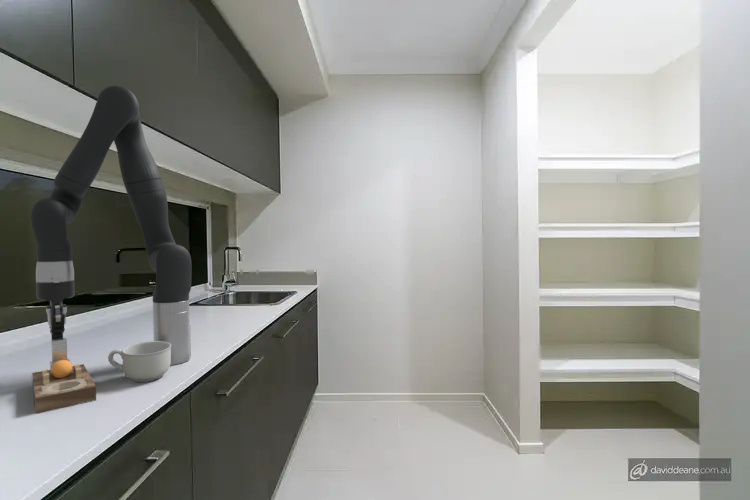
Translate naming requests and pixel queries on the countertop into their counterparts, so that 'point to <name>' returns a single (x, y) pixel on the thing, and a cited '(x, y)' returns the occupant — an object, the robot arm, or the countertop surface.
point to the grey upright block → (58, 351)
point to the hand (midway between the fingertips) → (57, 348)
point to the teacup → (143, 360)
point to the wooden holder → (62, 389)
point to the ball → (61, 369)
